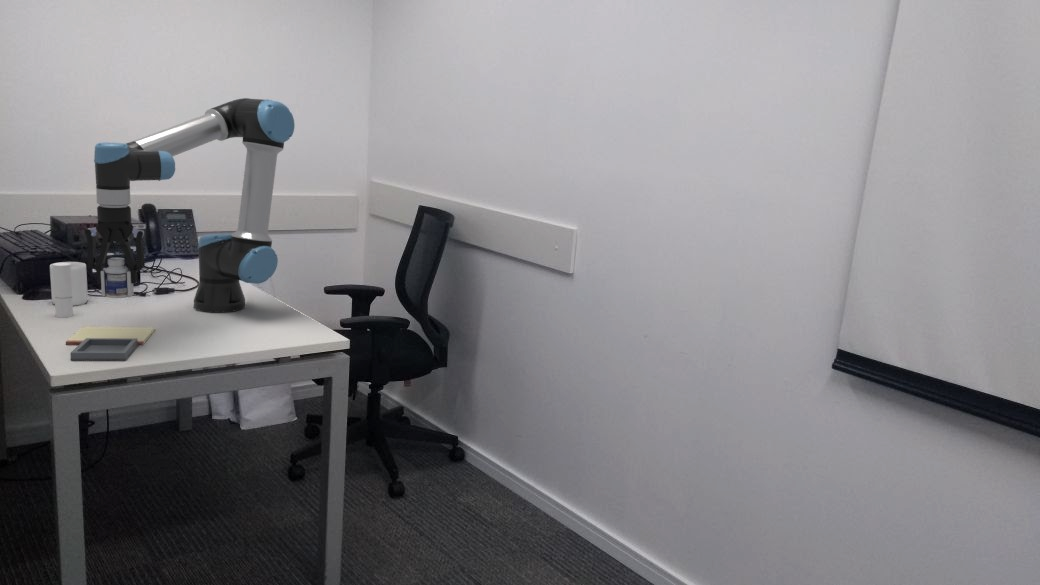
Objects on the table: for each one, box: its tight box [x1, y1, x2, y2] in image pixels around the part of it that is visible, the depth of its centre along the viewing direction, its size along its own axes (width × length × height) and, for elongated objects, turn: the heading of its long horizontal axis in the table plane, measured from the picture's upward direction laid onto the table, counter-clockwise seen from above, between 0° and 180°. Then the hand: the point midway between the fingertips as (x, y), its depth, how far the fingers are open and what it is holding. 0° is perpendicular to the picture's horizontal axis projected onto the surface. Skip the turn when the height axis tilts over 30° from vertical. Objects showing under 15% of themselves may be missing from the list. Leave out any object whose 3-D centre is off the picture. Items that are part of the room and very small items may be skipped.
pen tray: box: [70, 338, 139, 362], centre depth 193 cm, size 12×12×2 cm
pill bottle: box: [104, 257, 130, 299], centre depth 198 cm, size 5×5×10 cm
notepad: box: [65, 326, 156, 346], centre depth 206 cm, size 18×14×1 cm
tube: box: [52, 262, 74, 318], centre depth 220 cm, size 4×4×15 cm
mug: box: [49, 261, 89, 307], centre depth 235 cm, size 10×12×12 cm
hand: (117, 295), depth 199 cm, fingers closed on pill bottle, 5 cm apart
